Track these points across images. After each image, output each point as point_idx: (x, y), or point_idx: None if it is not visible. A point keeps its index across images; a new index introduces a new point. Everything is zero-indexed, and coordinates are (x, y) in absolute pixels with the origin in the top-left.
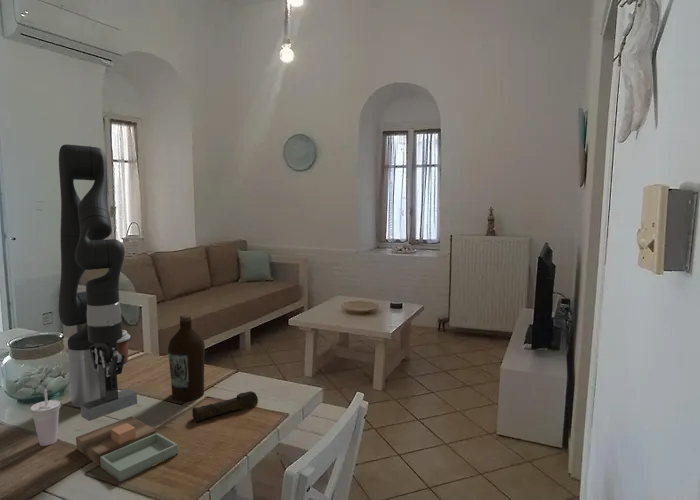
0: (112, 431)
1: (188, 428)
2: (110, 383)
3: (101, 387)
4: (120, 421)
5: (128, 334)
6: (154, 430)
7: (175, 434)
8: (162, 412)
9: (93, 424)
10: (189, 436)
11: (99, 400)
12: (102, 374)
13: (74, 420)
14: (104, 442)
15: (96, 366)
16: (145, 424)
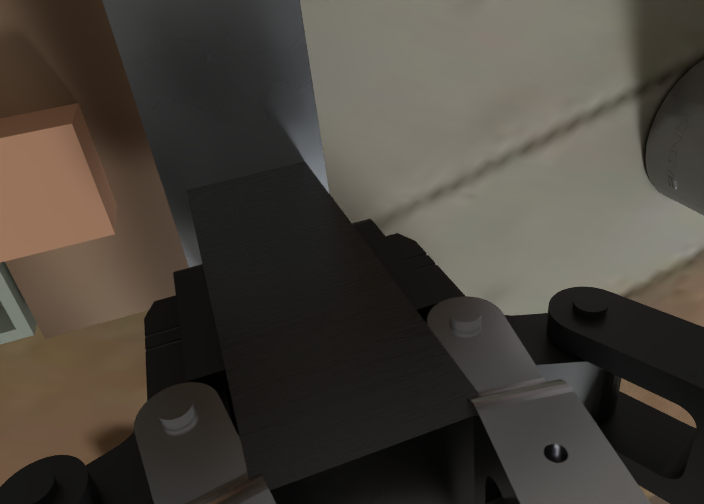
0: (48, 125)
1: (109, 432)
2: (158, 349)
3: (296, 226)
4: None
5: None
6: (46, 331)
7: (80, 381)
8: None
9: (473, 79)
10: (15, 427)
11: (270, 146)
12: (293, 348)
13: (590, 8)
14: (44, 50)
15: (563, 331)
16: None
